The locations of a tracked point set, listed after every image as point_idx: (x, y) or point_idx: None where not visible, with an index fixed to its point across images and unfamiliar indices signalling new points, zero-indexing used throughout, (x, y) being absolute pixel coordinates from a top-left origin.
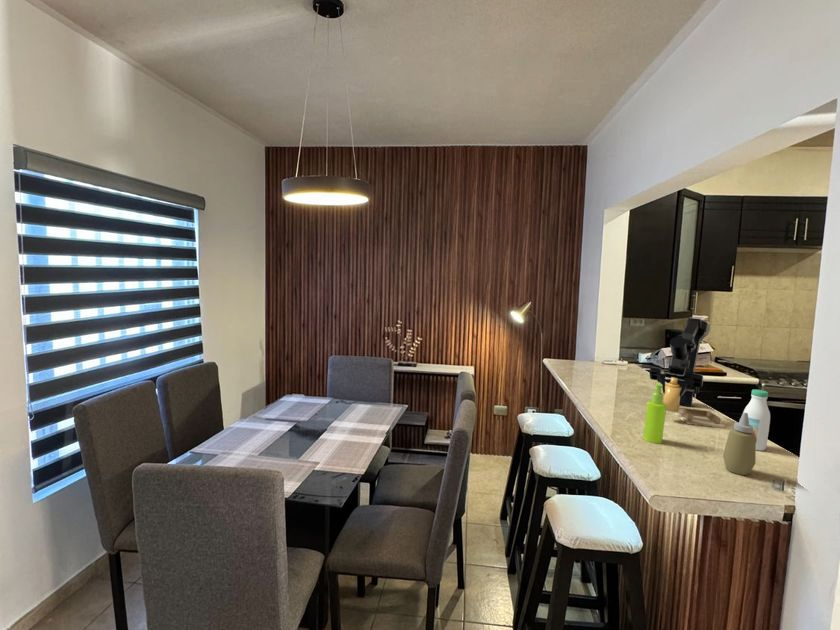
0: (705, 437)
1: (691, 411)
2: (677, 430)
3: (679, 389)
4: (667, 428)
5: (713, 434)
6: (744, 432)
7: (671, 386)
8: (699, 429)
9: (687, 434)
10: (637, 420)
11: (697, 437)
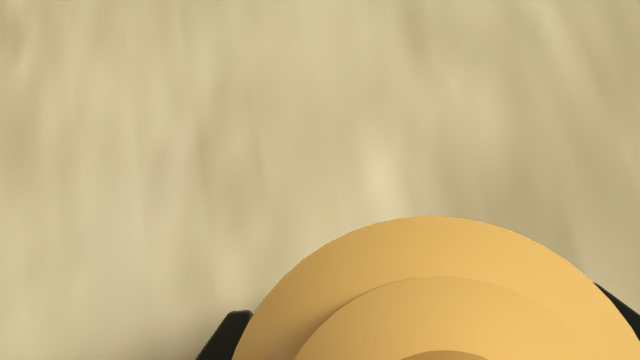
0: (61, 75)
1: None
2: (264, 71)
3: (251, 329)
4: (340, 55)
5: (11, 220)
6: None
7: (457, 274)
8: (118, 273)
9: (182, 31)
10: (609, 64)
11: (111, 21)
